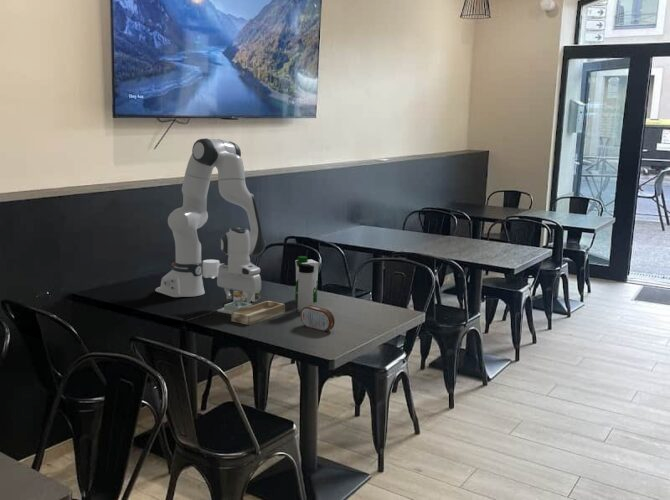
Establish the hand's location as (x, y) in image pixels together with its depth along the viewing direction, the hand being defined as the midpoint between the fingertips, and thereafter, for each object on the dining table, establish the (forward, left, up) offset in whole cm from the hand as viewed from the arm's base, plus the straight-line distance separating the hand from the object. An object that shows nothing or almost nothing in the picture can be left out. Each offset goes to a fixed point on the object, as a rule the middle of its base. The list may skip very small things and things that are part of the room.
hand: (238, 300), depth 282 cm
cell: (0, 0, -4) cm, 4 cm away
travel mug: (+22, +16, -4) cm, 27 cm away
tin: (+39, -2, -4) cm, 39 cm away
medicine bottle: (-8, +17, -4) cm, 19 cm away
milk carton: (+14, +29, -4) cm, 32 cm away
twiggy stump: (-51, +42, -5) cm, 66 cm away
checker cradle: (0, 0, -4) cm, 4 cm away
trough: (+12, -2, -4) cm, 13 cm away
